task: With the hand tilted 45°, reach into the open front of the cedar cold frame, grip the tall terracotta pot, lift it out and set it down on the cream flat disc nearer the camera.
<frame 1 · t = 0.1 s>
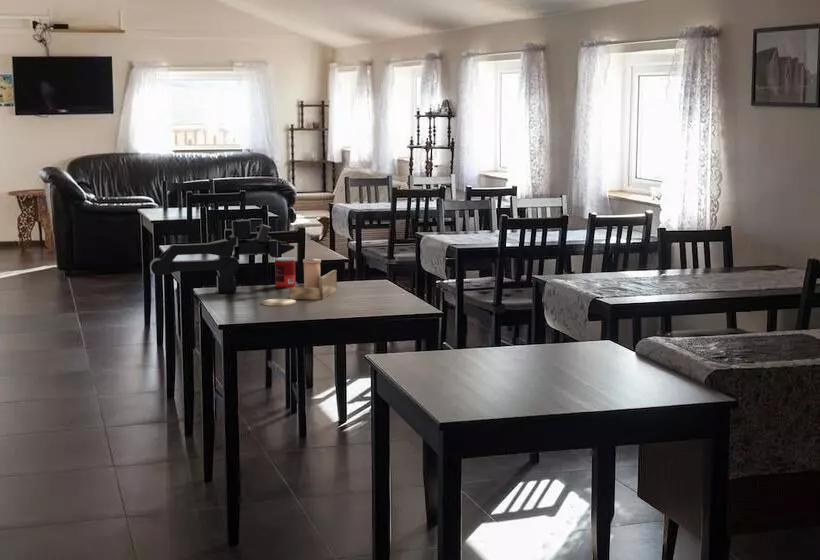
hand: (291, 245, 420), 17 cm above the table, tool horizontal, fingers open, 9 cm apart
terracotta pot: (312, 294, 409), on the table
cold frame: (312, 294, 409), on the table
cream flat disc: (278, 303, 390), on the table
canned food: (285, 287, 429), on the table
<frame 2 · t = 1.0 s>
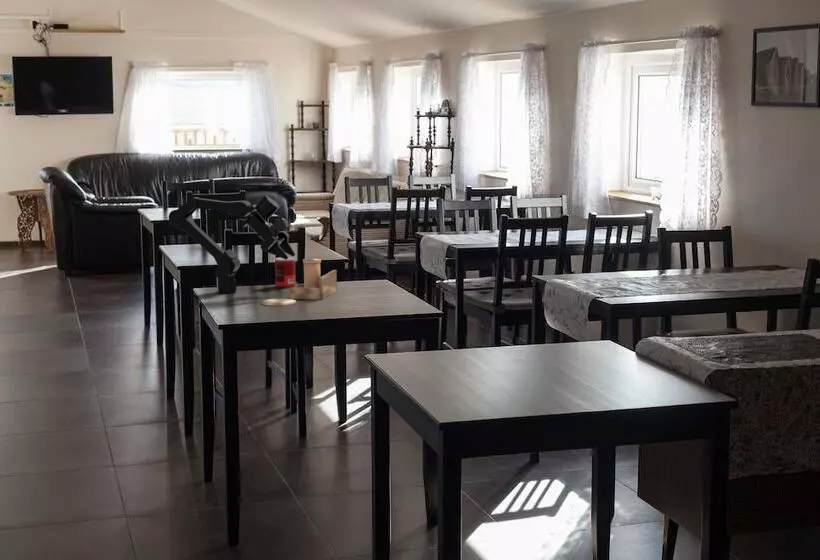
hand: (290, 257, 408), 14 cm above the table, tool tilted 45°, fingers open, 9 cm apart
nothing on the table moved.
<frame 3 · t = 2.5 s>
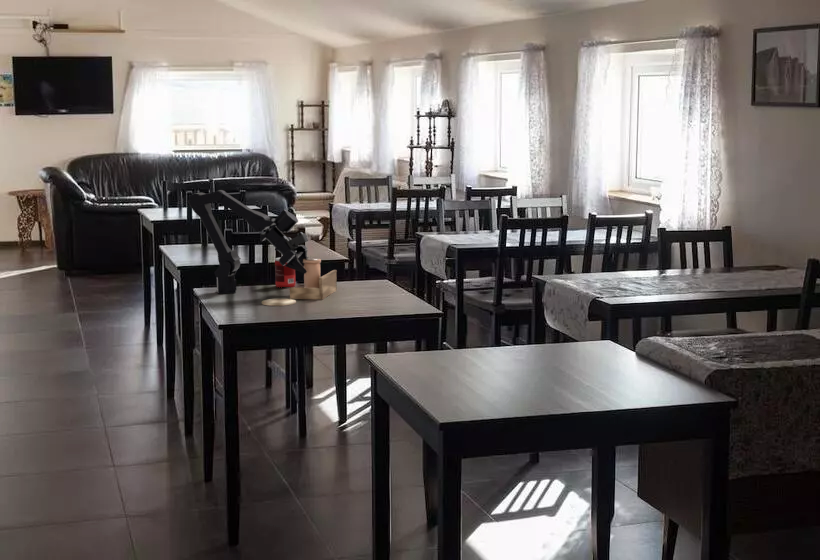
hand: (309, 271, 408), 9 cm above the table, tool tilted 45°, fingers open, 9 cm apart
nothing on the table moved.
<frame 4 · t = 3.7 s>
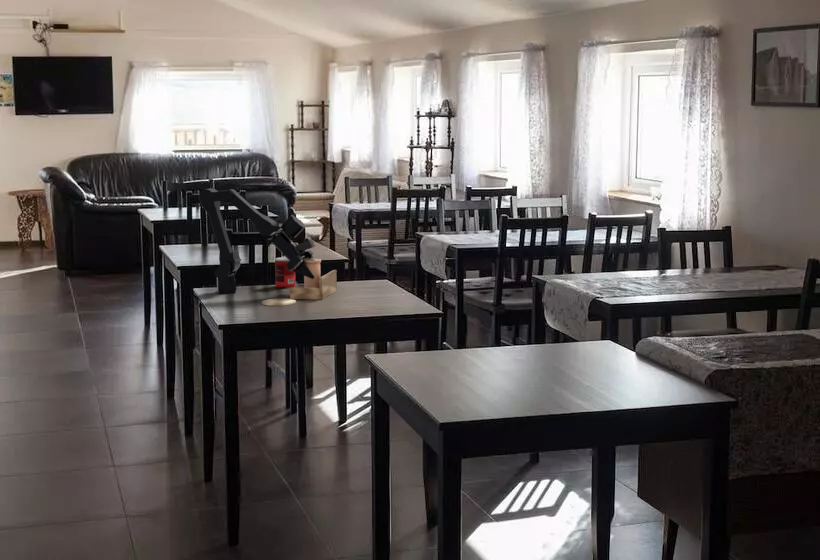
hand: (315, 276, 408), 7 cm above the table, tool tilted 45°, fingers closed on terracotta pot, 6 cm apart
terracotta pot: (312, 294, 409), on the table, touching gripper
everything else where it was.
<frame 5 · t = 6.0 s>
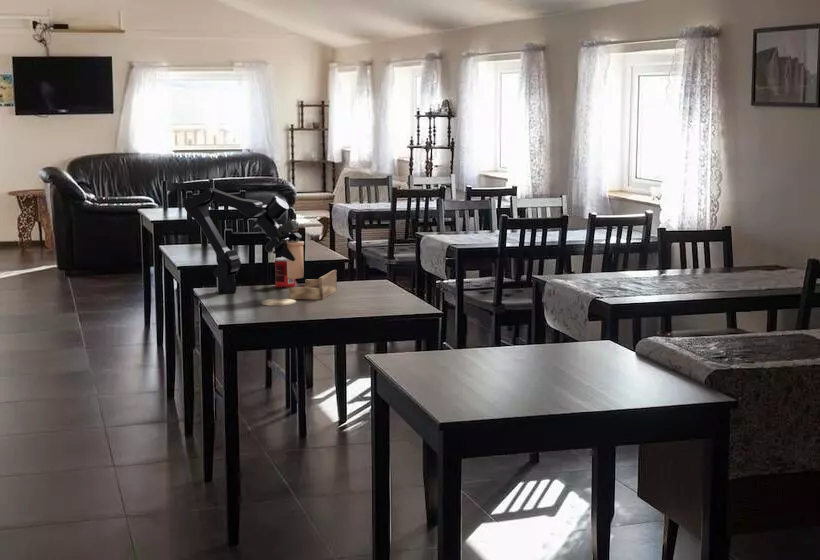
hand: (298, 259, 402), 14 cm above the table, tool tilted 45°, fingers closed on terracotta pot, 6 cm apart
terracotta pot: (295, 277, 403), point 7 cm above the table, touching gripper
everything else where it was.
when the fingers open (8 cm above the table, at t = 8.3 s): terracotta pot stays where it is, resting on cream flat disc.
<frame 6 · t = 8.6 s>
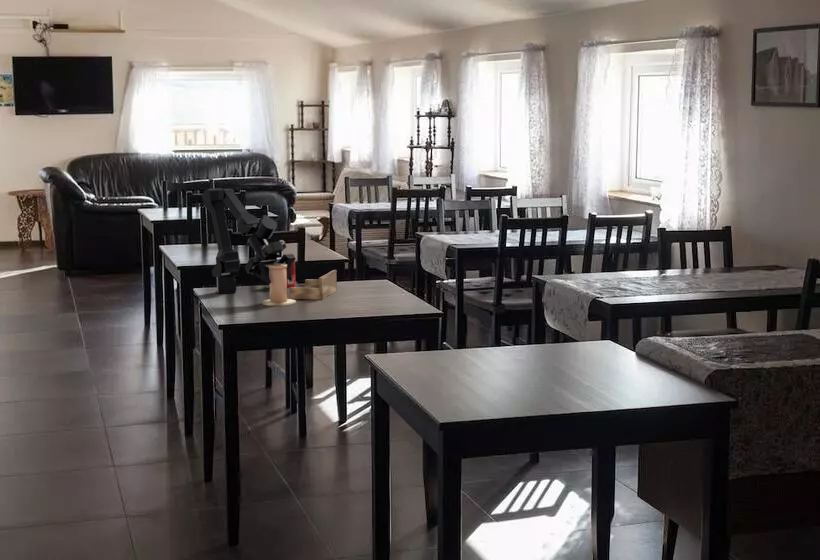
hand: (280, 281, 388), 8 cm above the table, tool tilted 45°, fingers open, 9 cm apart
terracotta pot: (278, 301, 390), point 1 cm above the table, touching cream flat disc
everything else where it was.
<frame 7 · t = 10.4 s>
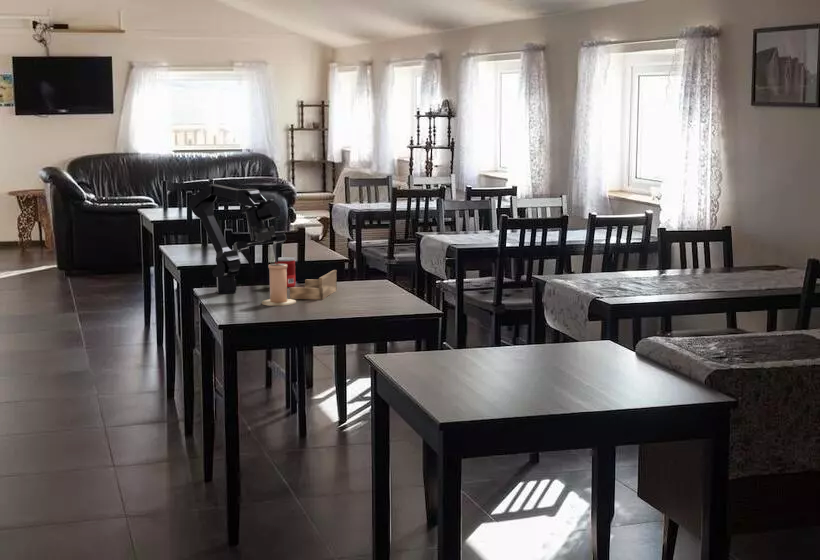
hand: (264, 265, 402), 12 cm above the table, tool pointing down, fingers open, 9 cm apart
nothing on the table moved.
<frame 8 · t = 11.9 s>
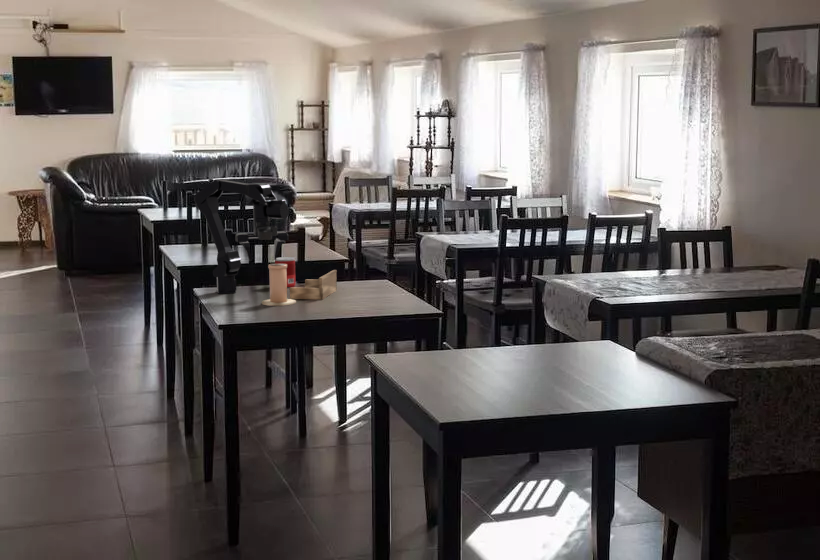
hand: (262, 260, 405), 13 cm above the table, tool pointing down, fingers open, 9 cm apart
nothing on the table moved.
at the end: terracotta pot 0.1 cm from the cream flat disc (horizontally); terracotta pot tilted 0°; terracotta pot point 0.6 cm above the table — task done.
